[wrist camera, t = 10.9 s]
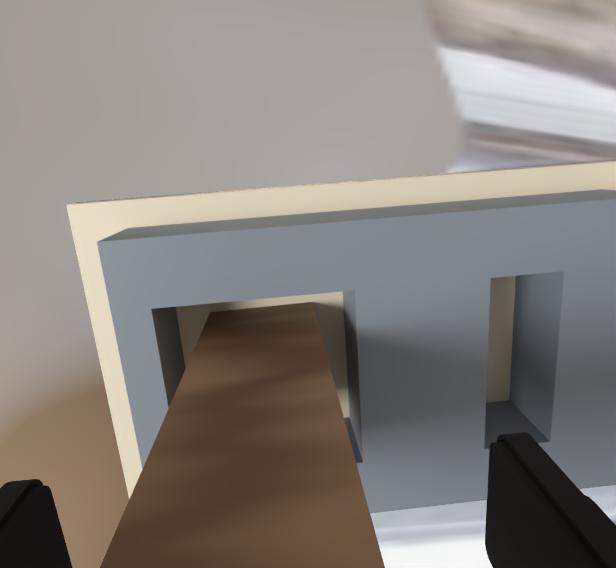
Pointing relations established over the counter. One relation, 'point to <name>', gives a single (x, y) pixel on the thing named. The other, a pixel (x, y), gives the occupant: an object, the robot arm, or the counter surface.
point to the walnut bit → (251, 458)
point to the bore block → (382, 312)
